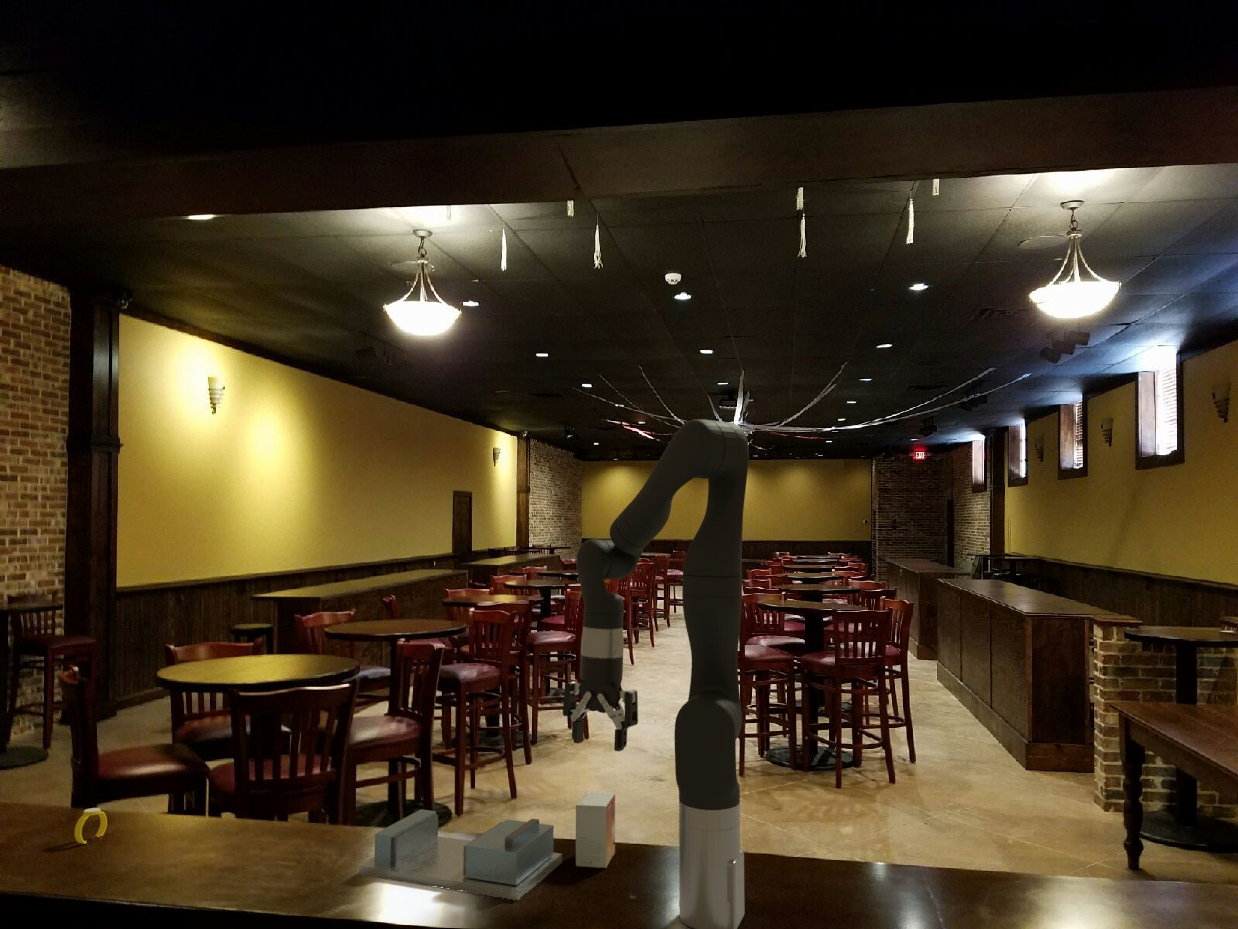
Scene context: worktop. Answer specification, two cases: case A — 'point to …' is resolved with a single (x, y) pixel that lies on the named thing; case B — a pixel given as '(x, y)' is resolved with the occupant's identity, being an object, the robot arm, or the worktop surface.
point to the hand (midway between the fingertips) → (598, 746)
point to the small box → (595, 830)
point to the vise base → (437, 859)
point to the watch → (82, 819)
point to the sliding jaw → (508, 851)
